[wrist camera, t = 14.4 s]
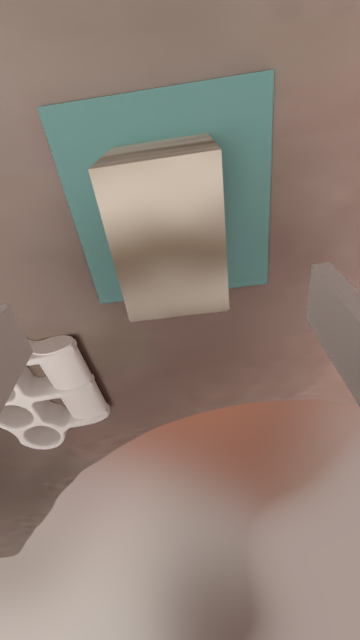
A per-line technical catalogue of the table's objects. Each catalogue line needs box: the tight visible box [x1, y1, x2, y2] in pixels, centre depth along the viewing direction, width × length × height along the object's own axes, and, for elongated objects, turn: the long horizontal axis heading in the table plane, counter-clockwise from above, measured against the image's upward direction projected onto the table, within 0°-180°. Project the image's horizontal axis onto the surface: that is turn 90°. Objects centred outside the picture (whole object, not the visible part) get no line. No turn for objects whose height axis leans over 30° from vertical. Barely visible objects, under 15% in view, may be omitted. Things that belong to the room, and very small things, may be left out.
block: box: [88, 133, 230, 322], centre depth 23 cm, size 10×7×8 cm
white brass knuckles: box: [0, 335, 110, 449], centre depth 37 cm, size 3×18×15 cm
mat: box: [37, 69, 274, 304], centre depth 26 cm, size 16×16×1 cm
